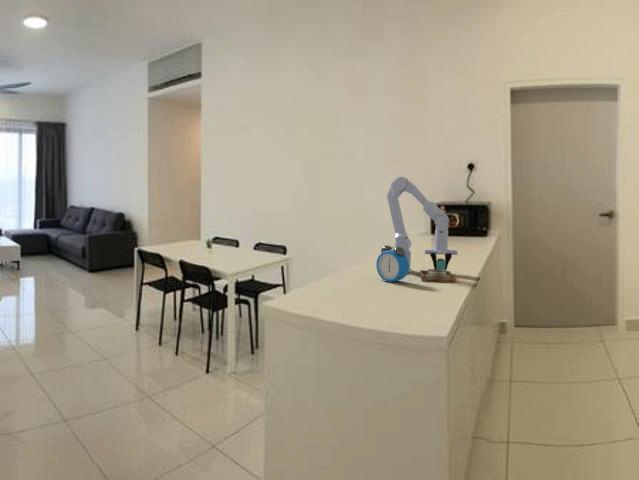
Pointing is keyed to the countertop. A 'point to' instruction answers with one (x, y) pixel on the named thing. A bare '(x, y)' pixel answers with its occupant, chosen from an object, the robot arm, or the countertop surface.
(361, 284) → the countertop surface
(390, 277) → the alarm clock
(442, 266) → the connector
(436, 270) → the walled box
